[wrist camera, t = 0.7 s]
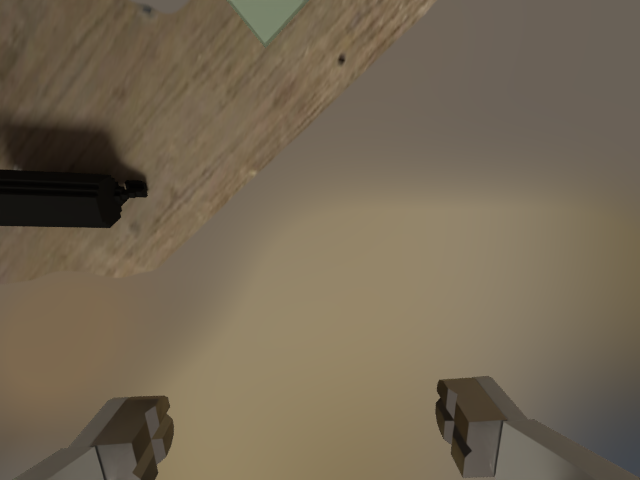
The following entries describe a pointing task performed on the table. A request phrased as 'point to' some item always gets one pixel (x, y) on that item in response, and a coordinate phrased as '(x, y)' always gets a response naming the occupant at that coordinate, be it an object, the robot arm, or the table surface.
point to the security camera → (63, 199)
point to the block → (267, 16)
